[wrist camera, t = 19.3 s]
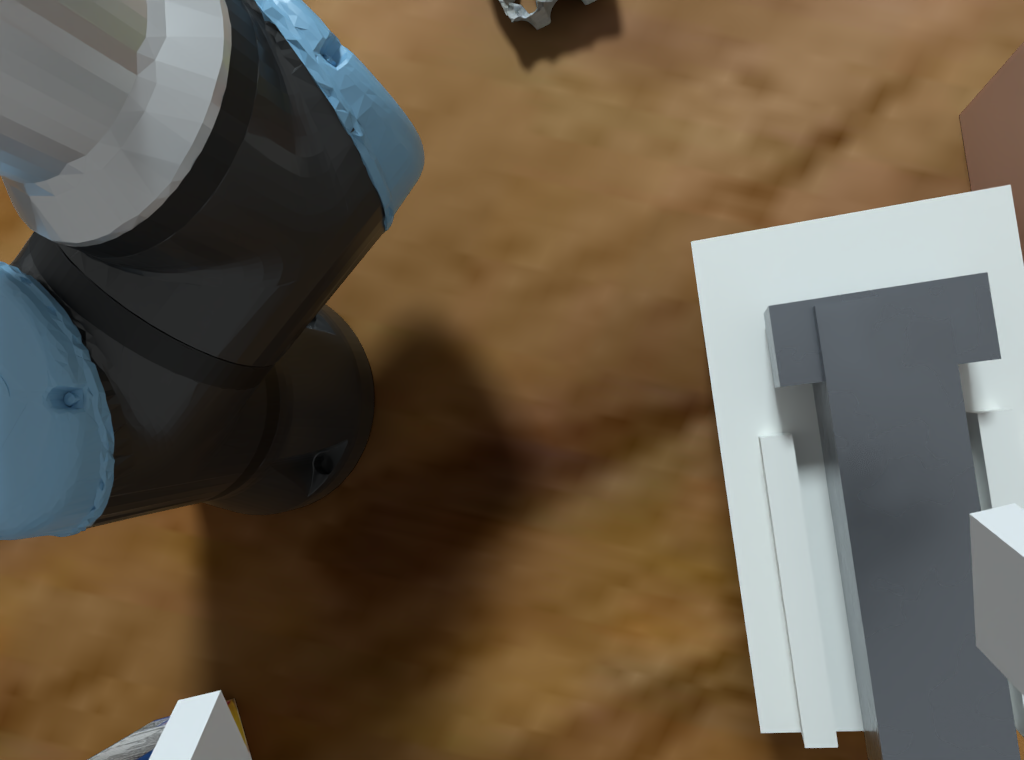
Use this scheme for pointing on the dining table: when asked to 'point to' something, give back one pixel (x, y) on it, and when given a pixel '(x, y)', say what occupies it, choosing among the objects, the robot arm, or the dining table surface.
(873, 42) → the dining table surface
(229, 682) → the dining table surface
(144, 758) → the beverage box
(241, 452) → the robot arm
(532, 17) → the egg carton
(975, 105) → the stand
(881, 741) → the t bar
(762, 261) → the rest
